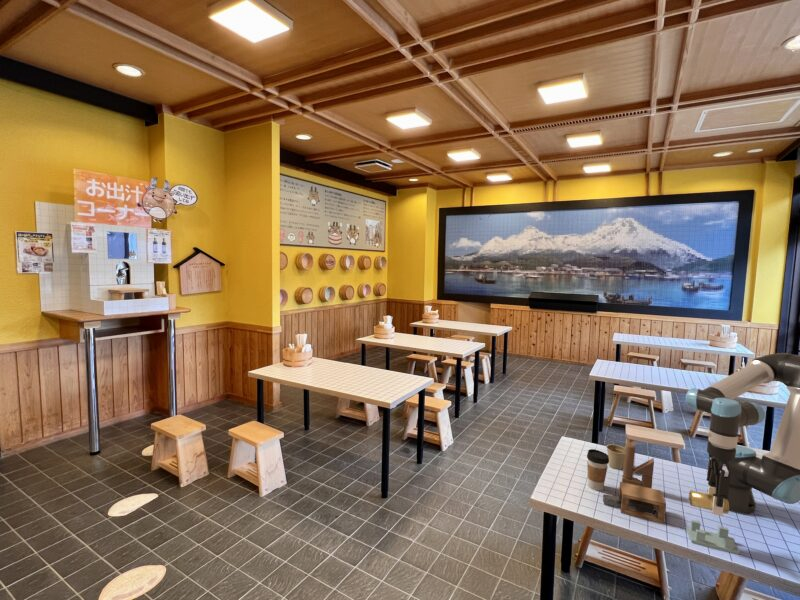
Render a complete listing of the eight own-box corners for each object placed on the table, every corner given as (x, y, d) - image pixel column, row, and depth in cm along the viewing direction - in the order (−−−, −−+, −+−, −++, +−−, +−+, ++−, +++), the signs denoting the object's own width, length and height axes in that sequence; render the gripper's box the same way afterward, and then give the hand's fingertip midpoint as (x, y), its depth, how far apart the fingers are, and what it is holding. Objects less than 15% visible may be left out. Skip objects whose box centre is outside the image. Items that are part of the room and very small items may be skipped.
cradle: (729, 539, 139) (731, 528, 139) (738, 554, 132) (740, 542, 131) (685, 528, 144) (686, 517, 144) (691, 542, 137) (692, 531, 136)
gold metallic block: (722, 506, 138) (725, 494, 137) (727, 517, 134) (730, 504, 132) (688, 498, 142) (690, 487, 141) (691, 509, 138) (694, 496, 136)
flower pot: (627, 465, 189) (629, 447, 189) (626, 473, 181) (628, 455, 181) (605, 459, 194) (607, 442, 194) (603, 467, 186) (605, 450, 186)
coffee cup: (587, 479, 176) (590, 446, 174) (608, 486, 170) (611, 452, 169) (582, 487, 169) (584, 453, 168) (604, 494, 164) (606, 460, 162)
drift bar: (650, 510, 155) (651, 503, 155) (653, 514, 152) (653, 507, 152) (602, 501, 160) (603, 494, 160) (604, 505, 157) (604, 498, 157)
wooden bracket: (651, 494, 166) (655, 452, 164) (621, 486, 171) (625, 445, 169) (650, 489, 169) (654, 449, 167) (621, 482, 174) (625, 442, 173)
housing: (658, 508, 155) (660, 490, 155) (664, 523, 147) (666, 503, 146) (618, 499, 161) (620, 481, 160) (621, 512, 152) (622, 493, 152)
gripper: (700, 432, 144) (693, 493, 146) (717, 453, 128) (709, 521, 130) (726, 436, 141) (718, 498, 144) (746, 458, 125) (738, 528, 127)
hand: (714, 509), depth 137 cm, fingers closed on gold metallic block, 5 cm apart
